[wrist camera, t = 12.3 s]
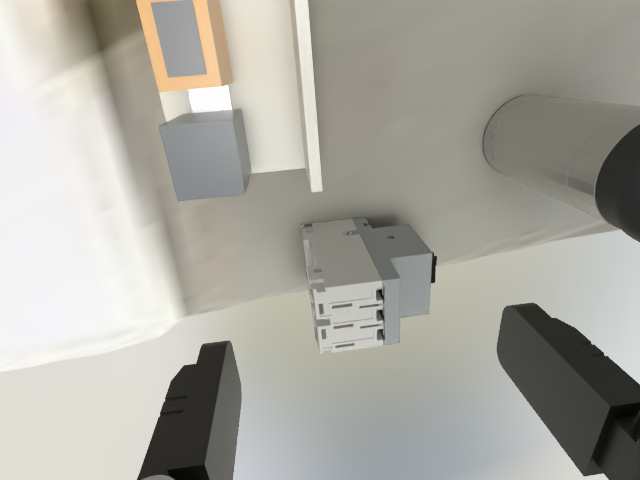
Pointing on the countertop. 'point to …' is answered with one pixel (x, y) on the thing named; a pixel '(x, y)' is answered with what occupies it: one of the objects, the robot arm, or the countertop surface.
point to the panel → (269, 84)
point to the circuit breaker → (365, 281)
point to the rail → (210, 99)
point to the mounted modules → (207, 154)
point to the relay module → (186, 43)
